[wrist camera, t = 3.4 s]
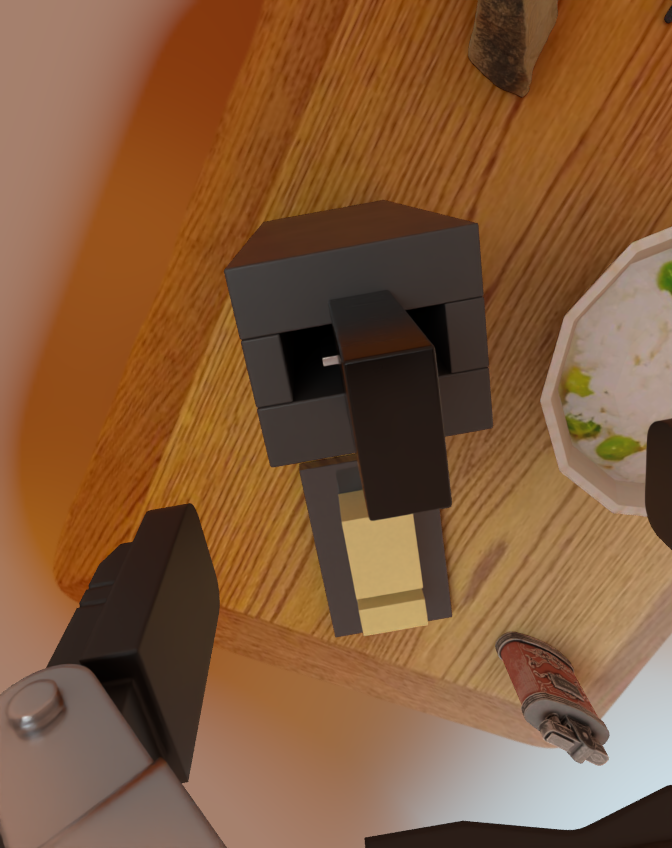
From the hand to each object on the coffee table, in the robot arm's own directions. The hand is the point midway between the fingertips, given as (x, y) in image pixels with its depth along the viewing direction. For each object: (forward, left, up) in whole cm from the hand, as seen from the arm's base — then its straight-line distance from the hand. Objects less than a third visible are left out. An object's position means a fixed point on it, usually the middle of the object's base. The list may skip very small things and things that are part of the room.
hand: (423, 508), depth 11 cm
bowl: (+20, -9, -32) cm, 39 cm away
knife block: (0, 0, -32) cm, 32 cm away
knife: (0, 0, -20) cm, 20 cm away
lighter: (+12, -37, -32) cm, 50 cm away
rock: (+13, +14, -32) cm, 37 cm away
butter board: (0, -22, -32) cm, 39 cm away
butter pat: (0, -26, -31) cm, 40 cm away
